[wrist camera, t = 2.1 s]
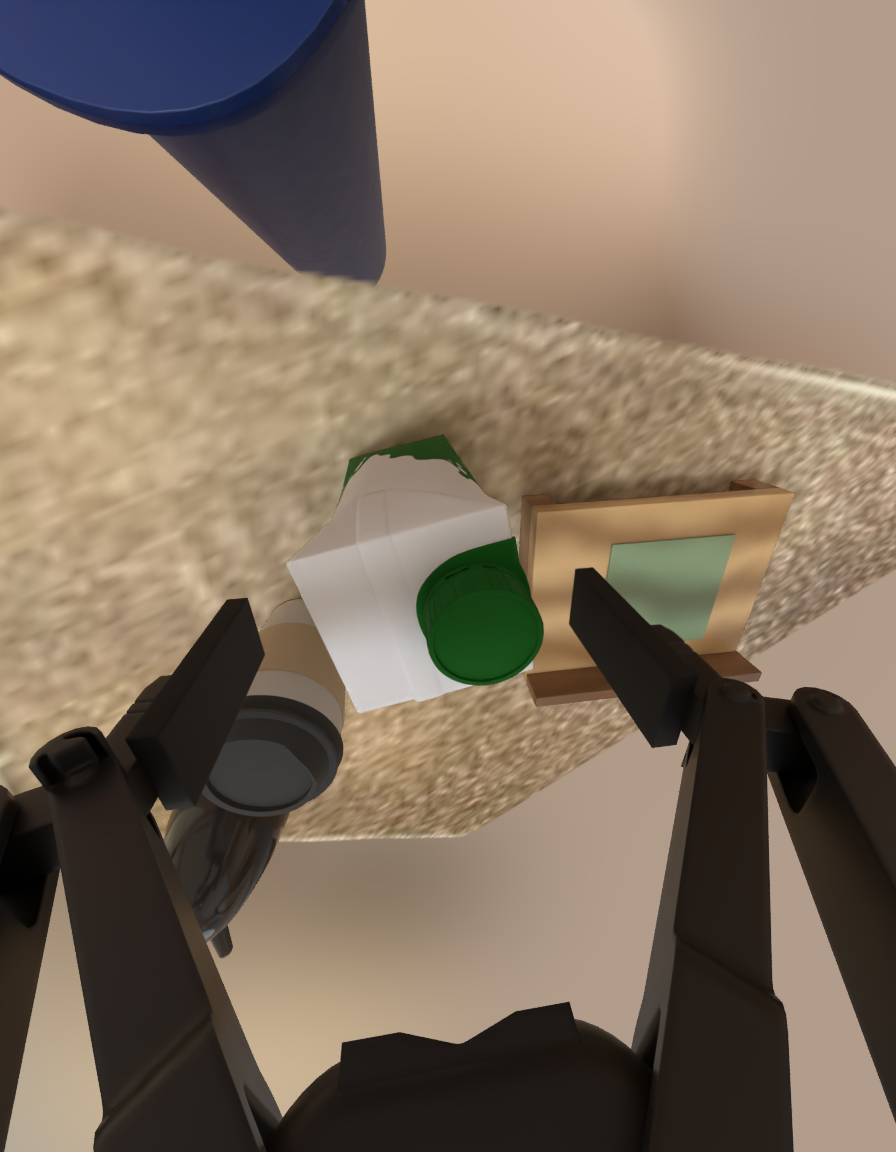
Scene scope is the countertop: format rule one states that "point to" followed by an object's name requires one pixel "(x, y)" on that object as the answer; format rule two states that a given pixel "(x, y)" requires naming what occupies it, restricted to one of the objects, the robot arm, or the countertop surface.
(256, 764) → the coffee cup
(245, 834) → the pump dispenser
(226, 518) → the countertop surface
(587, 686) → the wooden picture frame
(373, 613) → the soya milk
